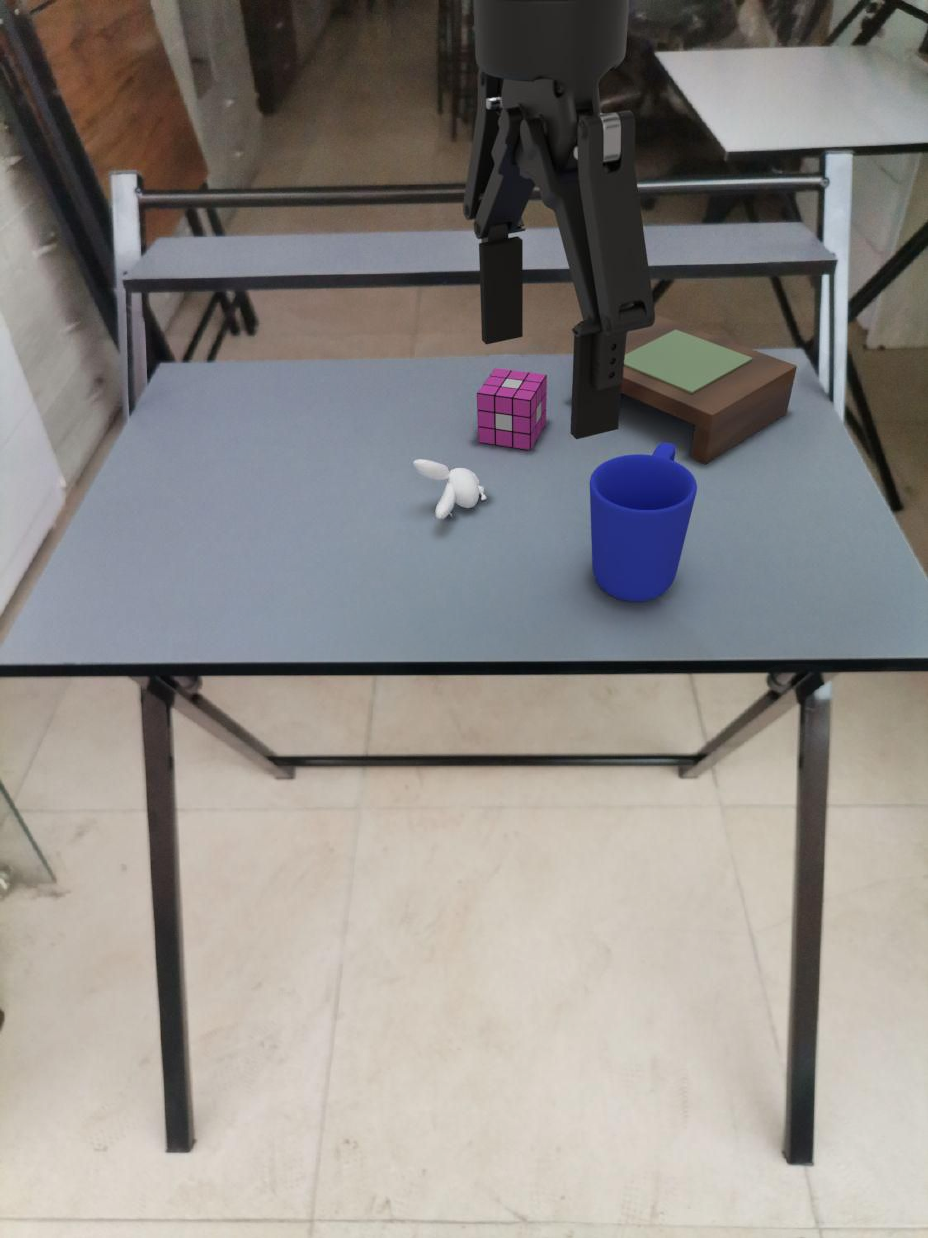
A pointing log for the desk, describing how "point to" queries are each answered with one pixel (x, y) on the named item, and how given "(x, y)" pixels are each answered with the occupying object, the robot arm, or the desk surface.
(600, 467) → the mug
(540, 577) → the desk surface
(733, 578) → the desk surface
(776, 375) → the shelf
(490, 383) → the puzzle toy
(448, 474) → the rabbit figurine
